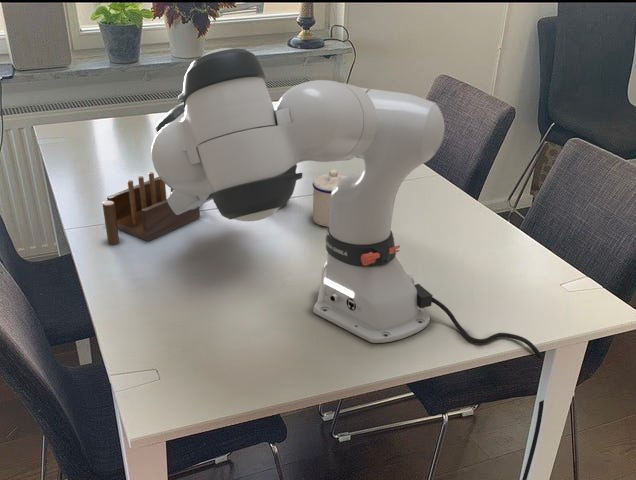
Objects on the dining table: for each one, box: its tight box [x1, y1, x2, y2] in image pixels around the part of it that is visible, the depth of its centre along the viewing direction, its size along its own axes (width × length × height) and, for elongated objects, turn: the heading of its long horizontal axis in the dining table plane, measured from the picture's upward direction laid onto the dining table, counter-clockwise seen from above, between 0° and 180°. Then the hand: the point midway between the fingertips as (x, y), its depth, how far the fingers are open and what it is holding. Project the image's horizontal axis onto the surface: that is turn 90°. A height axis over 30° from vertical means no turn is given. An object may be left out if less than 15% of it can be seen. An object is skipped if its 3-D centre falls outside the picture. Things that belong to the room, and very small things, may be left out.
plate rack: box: [106, 171, 201, 242], centre depth 168 cm, size 12×16×12 cm
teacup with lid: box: [312, 169, 346, 228], centre depth 171 cm, size 12×9×12 cm
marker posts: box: [101, 200, 120, 246], centre depth 168 cm, size 2×27×9 cm, turn 143°
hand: (194, 205), depth 161 cm, fingers closed
